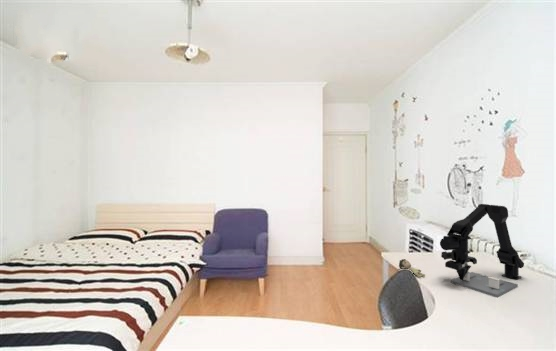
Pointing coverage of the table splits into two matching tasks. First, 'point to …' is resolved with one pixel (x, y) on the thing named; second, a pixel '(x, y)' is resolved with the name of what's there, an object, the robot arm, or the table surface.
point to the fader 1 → (467, 276)
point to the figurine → (410, 268)
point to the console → (484, 284)
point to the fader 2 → (493, 282)
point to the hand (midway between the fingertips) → (461, 279)
